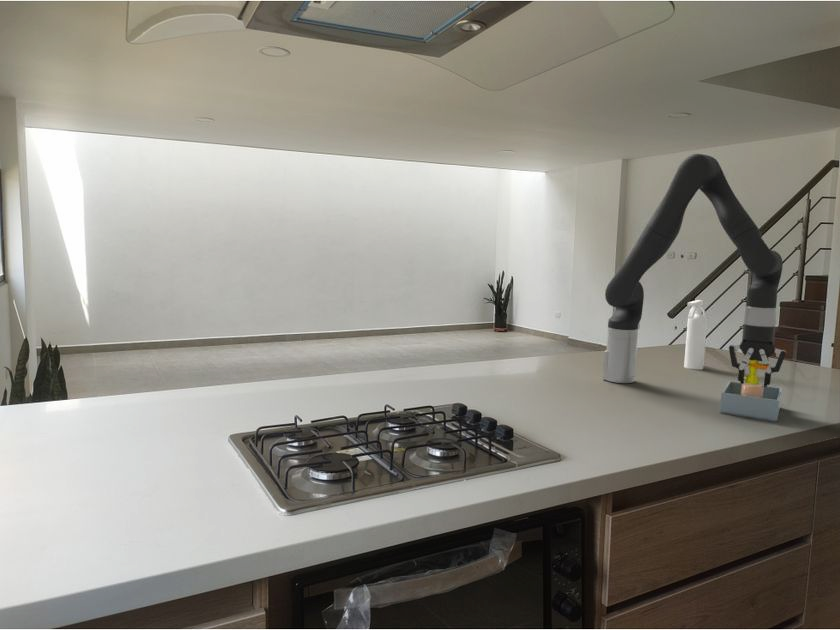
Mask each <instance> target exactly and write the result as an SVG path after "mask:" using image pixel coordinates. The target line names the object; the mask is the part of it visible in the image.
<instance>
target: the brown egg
mask: <svg viewBox="0 0 840 630" xmlns="http://www.w3.org/2000/svg"><path fill="white" fill-rule="evenodd" d="M760 385H761V384H758V385H756V384H750V383H745V382H744V383H743V384H742V389H741V395H744V396H751V397H758V398H762V397H763V390H764V387H763V386H764V385H762V386H760Z"/></svg>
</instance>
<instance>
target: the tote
mask: <svg viewBox="0 0 840 630" xmlns="http://www.w3.org/2000/svg"><path fill="white" fill-rule="evenodd" d="M759 385H760V386H763V387H764V385H761V384H759ZM741 389H742V383H741V382H740V381H730V380H729V381H728V382H727V384H726V386H725V387H724V388H723V390H722V391H721V396H720V407H719V413H720V414H725V415H731V416H737V417H743V418H748V419H749V418H750V419H755V420H760V421H761V420H762V421H766V422H767V421H768V422H775V423H778V420H779V419H778V418H779V414H780V409H781V400H782V392H783V391H782V390H783V388H782V387H776V386H770V385H767V387H764V390H763V397H762V398H758V397H751V396H744V395H741Z"/></svg>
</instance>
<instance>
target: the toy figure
mask: <svg viewBox="0 0 840 630" xmlns="http://www.w3.org/2000/svg"><path fill="white" fill-rule="evenodd" d="M748 362H749V363H747V366H748V369H749V370H748V371H749V375H748V376H744V383H750V384H756V385H759V380H760V379H759V378H758V376H757V371H758V370H762V371H763V370H764V371H766V369H767V368H768V367H769V366H765V365H764V364H763V363H760V362H759V361H758V360H749V361H748Z"/></svg>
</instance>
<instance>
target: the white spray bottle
mask: <svg viewBox="0 0 840 630" xmlns="http://www.w3.org/2000/svg"><path fill="white" fill-rule="evenodd" d="M703 305H704V301H703V300H702V299H696V300H692V301H688V302H687V305H686V306H690V307H691V308H690V309H689V312H688V315H687V327H686V337H685V339H686V340H685V351H684V363H683V364H684V365H683V367H684V368H685V369H689V370H703V369H704V364H705V354H706V353H705V351H706V340H707V339H706V338H707V337H706V336H707V326H708V318H707V316H706V310H705V309H704V308H703V307H702V306H703Z"/></svg>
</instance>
